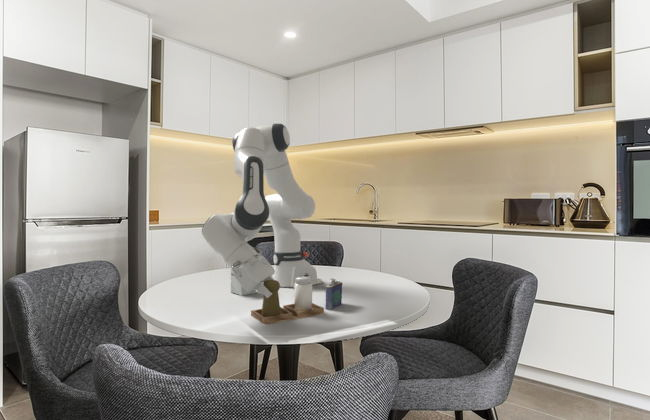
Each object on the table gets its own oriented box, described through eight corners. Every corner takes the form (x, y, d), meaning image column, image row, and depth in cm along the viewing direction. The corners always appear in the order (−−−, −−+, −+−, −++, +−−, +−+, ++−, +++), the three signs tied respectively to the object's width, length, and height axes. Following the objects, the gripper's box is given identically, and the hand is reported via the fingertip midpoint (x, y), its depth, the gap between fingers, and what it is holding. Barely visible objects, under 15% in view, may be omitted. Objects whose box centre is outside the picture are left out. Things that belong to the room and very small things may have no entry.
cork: (284, 315, 122) (284, 279, 122) (274, 320, 117) (274, 283, 116) (267, 312, 125) (268, 277, 124) (256, 318, 119) (257, 281, 119)
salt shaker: (306, 307, 130) (306, 275, 130) (315, 312, 126) (315, 278, 125) (291, 310, 127) (291, 277, 127) (300, 314, 123) (300, 280, 122)
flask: (330, 314, 128) (330, 281, 128) (322, 313, 130) (322, 280, 129) (343, 308, 136) (343, 276, 136) (335, 306, 138) (335, 275, 137)
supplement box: (230, 292, 157) (230, 260, 156) (245, 289, 162) (245, 258, 162) (241, 296, 152) (241, 262, 151) (256, 292, 157) (257, 260, 157)
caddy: (307, 309, 134) (307, 300, 134) (325, 318, 125) (325, 308, 125) (249, 319, 123) (249, 309, 123) (265, 329, 114) (265, 319, 113)
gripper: (236, 257, 111) (271, 294, 110) (260, 248, 131) (289, 278, 130) (221, 272, 112) (255, 309, 110) (247, 261, 132) (275, 291, 131)
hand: (273, 292), depth 120 cm, fingers open, 6 cm apart
